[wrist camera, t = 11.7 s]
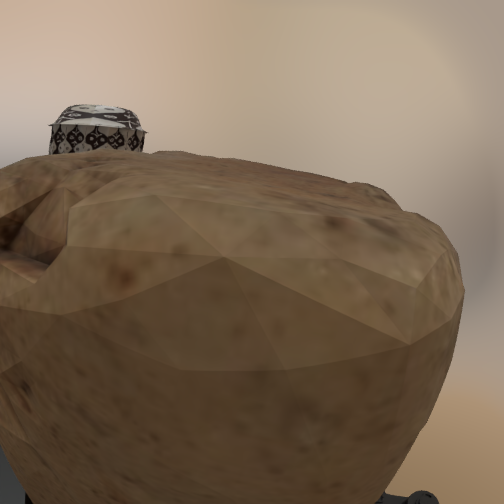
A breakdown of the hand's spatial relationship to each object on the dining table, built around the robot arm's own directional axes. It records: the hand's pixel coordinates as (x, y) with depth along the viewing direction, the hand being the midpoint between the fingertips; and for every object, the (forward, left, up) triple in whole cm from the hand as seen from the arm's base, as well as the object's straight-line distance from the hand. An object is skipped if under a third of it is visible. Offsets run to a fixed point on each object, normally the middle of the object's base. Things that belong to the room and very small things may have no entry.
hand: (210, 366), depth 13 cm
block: (0, -5, -11) cm, 12 cm away
